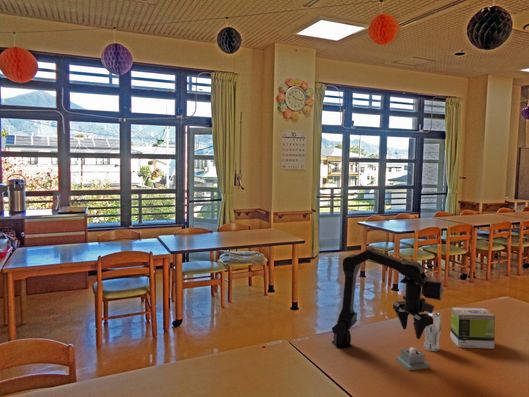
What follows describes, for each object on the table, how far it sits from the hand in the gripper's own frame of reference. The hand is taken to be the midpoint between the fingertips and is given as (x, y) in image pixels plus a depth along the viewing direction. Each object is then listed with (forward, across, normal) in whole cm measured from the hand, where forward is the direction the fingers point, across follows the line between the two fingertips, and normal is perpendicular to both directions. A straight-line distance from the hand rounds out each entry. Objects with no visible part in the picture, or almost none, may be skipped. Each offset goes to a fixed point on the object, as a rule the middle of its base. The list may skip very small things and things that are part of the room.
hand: (411, 333), depth 161 cm
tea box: (+12, +9, -36) cm, 39 cm away
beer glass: (+12, +9, -16) cm, 22 cm away
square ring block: (+11, -1, 0) cm, 11 cm away
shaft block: (+12, -1, 0) cm, 12 cm away
